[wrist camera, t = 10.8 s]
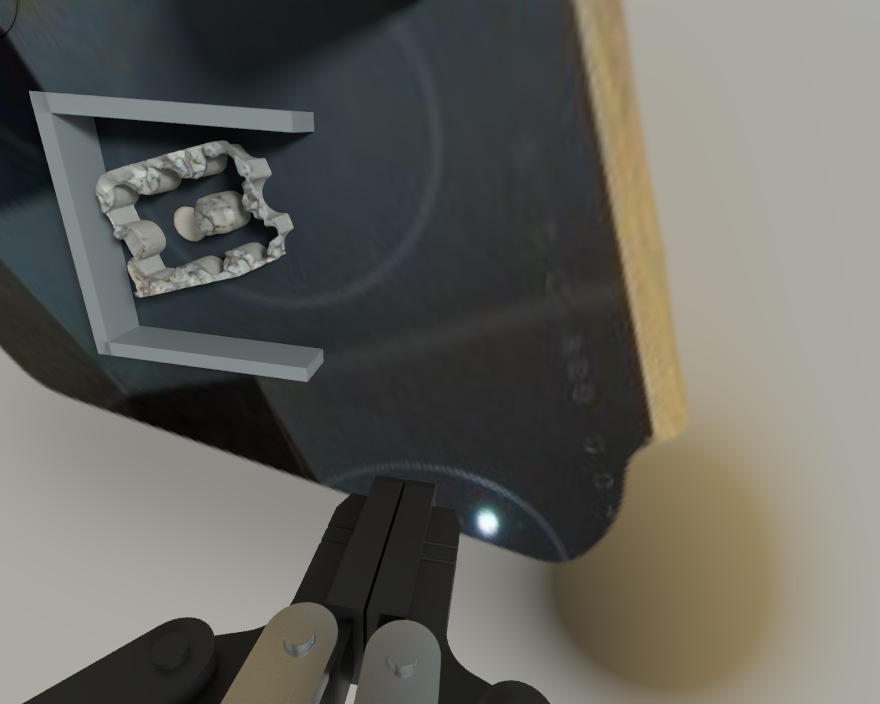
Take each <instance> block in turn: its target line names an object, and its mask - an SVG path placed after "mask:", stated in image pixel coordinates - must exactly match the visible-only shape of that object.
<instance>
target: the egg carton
mask: <svg viewBox="0 0 880 704" xmlns="http://www.w3.org/2000/svg"><path fill="white" fill-rule="evenodd" d="M227 155H229V156H231V157H232V158H233V159H234V161H235V165H236V168H237V171H238V173H239V175H240V176H242V177H244V178H246V180H245V181H244V182H243V183H242V187H243V189H244V195H243V196H242V195H241V194H239V193H238V192H235V191H225V192H220V193H216V194H210V195H207V196H205V197H203V198H200V199H198V201H197V203H196V206H195V208H192V207H181V208H179V209H178V210H177V211H176V212H175V214H174V225H175V227H176V229H177V231H178V233H179V234H181V236H183V237H184V238H185V239H187V240H190V241H199V240H201V239H202V238H204V237H205V235H207V236H210V235H213V234H224V233H228V232H230V231H233V230H236V229H238V228H240V227H243V226H245V225H246V224H248V222H249V221H250V218H251V212H252V213H253V214H254V217H255V218H256V219H263V220H264V225H265V226H267V227H270V226H274V227H275V228H277V231H278V234H279V235H278V236H277V237H276V238H274V239H273V240H272V241H271V242H270V243H269V247H268V249H267V248H266V247H264V246H263V245H261V244H259V243H248V244H245V245H243V246H240V247H238V248H235V249H233V250H230V251H227V252H225V255H226V258H225V260H224V261H223V260H221V259H220V258H218V257H215V256H206V257H203V258H201V259H198V260H196V261H193V262H191V263H188V264H186V265H184V266H178V267H177V268H176V269H174V268H166V267H165V266H164V264H163V262H162V260H161V258H160V256H159V254H160V253H161V252H162V251H163V250H164V248H165V244H166V240H165V236H164V234H163V232H162V231H161V229H160V228H159V227H158V226H157V225H156V224H155V223H153V222H151V221H148V220H140V219H139V217H138V215H137V212H136V210H135V208H134V204H135V203H136V202H137V201H138V199H139V196H140V194H145V195H151V194H157V193H161V192H166V191H171V190H174V189H176V188H177V187H178V186H179V185H180V183H181V181H182V178H193V179H198V178H200V177H204V176H210V175H215V174H219V173H221V172H222V171H223V170H224V169H225V168H226V165H227V159H228V157H227ZM270 176H271V171H270V169H269V166H268V164H267V161H266V159H265V158H255V157H252V156H250V155H249V154H248V153H246V152H245V150H244V149H243V148H242V146H241V145H240V144H229V143H228V142H227V141H215V142H210V143H205V144H202V145H199V146H195V147H191V148H187V149H184V150H180V151H177V152H173V153H169V154H164V155H161V156H158V157H156V158H152V159H148V160H145V161H142V162H139V163H135V164H130V165H127V166H124V167H121V168H118V169H115V170H112V171H109V172H107V173H105V174H103V175H101V177H100V178H99V179H98V183H97V186H96V190H95V192H96V194H97V196H98V198H99V200H100V204H101V208H102V212H103V213H106V214H107V216H108V217H109V219H110V220H111V222H112V224H113V227H114V231H113V234H114V236H115V237H116V238H117V239H119V240H121V239H124V240H125V241H126V243H127V245H128V247H129V249H130V251H131V253H132V254H133V256H134V258H131V259H130V261H129V262H128V263H127V267H128V271H129V273H130V275H131V277H132V279H133V281H134V282H135V285H136V288H137V292H134V296H135V297H145V296H151V295H156V294H160V293H166V292H170V291H174V290H178V289H182V288H186V287H191V286H195V285H201V284H206V283H210V282H213V281H218V280H224V279H228V278H233V277H237V276H240V275H242V274H245V273H247V272H249V271H251V270H254V269H256V268H258V267H260V266H262V265H264V264H266V263H268V262H270V261H273V260H276V259H278V258H280V256H281V255H283V254H286V252H285V251H283V250H285V249H284V239H285V237H286V235H287V233H289V232H290V231H291V230H292V229H293V225H292V222H291V220H290V217H289V215H288V214H287V213H278V212H275V211H273V210H272V209H270V208H269V207H268V206H267V204H266V203H265V202H264V199H263V196H262V188H263V185H264V182H265V181H266V180H267V179H268V178H269V177H270Z"/></svg>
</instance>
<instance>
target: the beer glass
mask: <svg viewBox="0 0 880 704" xmlns="http://www.w3.org/2000/svg"><path fill="white" fill-rule="evenodd" d="M16 10H17V0H0V37H1V36H2V35H4V34H5V33H6V32H7V31H8V30H9V28H10V27H11V25H12V23H13V21H14V18H15V15H16Z"/></svg>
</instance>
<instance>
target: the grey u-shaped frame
mask: <svg viewBox="0 0 880 704" xmlns="http://www.w3.org/2000/svg"><path fill="white" fill-rule="evenodd" d="M29 94H30V97H31V101H32V105H33V109H34V113H35V116H36V120H37V124H38V128H39V131H40V135H41V139H42V143H43V146H44V150H45V154H46V158H47V162H48V165H49V169H50V173H51V177H52V180H53V184H54V188H55V192H56V196H57V199H58V203H59V207H60V211H61V214H62V218H63V222H64V226H65V229H66V233H67V237H68V241H69V245H70V248H71V252H72V256H73V260H74V263H75V267H76V271H77V275H78V279H79V282H80V286H81V290H82V294H83V297H84V301H85V305H86V309H87V312H88V316H89V320H90V324H91V328H92V331H93V335H94V339H95V343H96V346H97V350H98V354H105V355H112V356H120V357H127V358H135V359H142V360H150V361H157V362H164V363H172V364H179V365H187V366H194V367H201V368H209V369H216V370H224V371H231V372H238V373H246V374H253V375H261V376H268V377H276V378H283V379H290V380H298V381H305V382H308V380H309V379H310V378H311V377H312V375H313V374H314V373H315V372H316V370H317V369H318V368H319V367H320V365H321V364H322V363H323V362H324V360H323V349H318V348H311V347H303V346H295V345H287V344H279V343H271V342H264V341H256V340H248V339H240V338H232V337H224V336H216V335H209V334H201V333H193V332H185V331H177V330H169V329H162V328H154V327H146V326H139V322H138V318H137V313H136V309H135V304H134V299H133V295H132V290H131V286H130V281H129V276H128V272H127V267H126V263H125V258H124V254H123V249H122V244H121V240H119V239H117V238H116V237H115V236H114V234H113V231H114V227H113V224H112V222H111V220H110V219H109V217H108V216H107V214H106V213H103V212H102V208H101V204H100V200H99V198H98V196H97V194H96V192H95V190H96V186H97V183H98V179H99V178H100V177H101V175H103V174H105V173H106V171H105V166H104V162H103V157H102V153H101V148H100V144H99V139H98V134H97V130H96V125H95V121H94V116H96V117H109V118H121V119H133V120H145V121H158V122H170V123H182V124H194V125H206V126H219V127H231V128H243V129H255V130H268V131H280V132H292V133H294V132H314V113H313V112H302V111H289V110H276V109H263V108H250V107H237V106H224V105H211V104H198V103H185V102H172V101H159V100H146V99H133V98H120V97H108V96H95V95H82V94H68V93H52V92H36V91H29Z"/></svg>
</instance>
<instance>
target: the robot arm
mask: <svg viewBox="0 0 880 704" xmlns="http://www.w3.org/2000/svg"><path fill="white" fill-rule="evenodd" d="M436 489H437V485H436V484H431V483H425V482H418V481H411V480H407V482H406V480H404V479H397V478H391V477H384V476H378V475H377V476H376V477H375V479H374V481H373V484H372V487H371V489H370V492H369V494H368V496H365V495H358V494H351V495H350V496H349V497H347V498H346V499H345V500H344V501H343V502H342V503H341V504H340V505H339V506H337V507H336V510H335V512H334V514H333V516H332V518H331V520H330V522H329V525H328V529H326V531H325V533H324V535H323V537H322V541H321V543H320V544H319V546H318V548H317V550H316V553H315V555H314V557H313V559H312V561H311V563H310V565H309V567H308V570H307V572H306V574H305V576H304V578H303V581H302V583H301V585H300V587H299V589H298V591H297V593H296V595H295V597H294V599H293V601H292V603H291V604H290V606H288V607H286V608H284V609H283V610H281V611H280V612H278V613H277V614H276V615H275V616H274V617H273V618H272V619H271V620H270V621H269V622H268V624H267V625H265V626H263V627H260V628H257V629H254V630H250V631H244V632H237V633H230V634H223V635H216V636H214V634H213V631H212V629H211V628H210V626H209V625H208V624H207V623H206V622H204V621H202V620H200V619H196V618H189V617H186V618H178V619H174V620H171V621H168V622H166V623H164V624H162V625H160V626H158V627H156V628H154V629H152V630H151V631H149V632H147V633H145V634H144V635H142V636H140V637H139V638H137V639H135V640H133V641H131V642H130V643H128V644H126V645H125V646H123V647H121V648H119V649H117V650H116V651H114V652H112V653H110V654H109V655H107V656H105V657H103V658H102V659H100V660H98V661H96V662H95V663H93V664H91V665H90V666H88V667H86V668H84V669H82V670H81V671H79V672H77V673H75V674H74V675H72V676H70V677H68V678H67V679H65V680H63V681H62V682H60V683H58V684H56V685H54V686H53V687H51V688H49V689H47V690H46V691H44V692H42V693H40V694H39V695H37V696H35V697H33V698H32V699H30V700H28V701H26V702H24V703H23V704H345V700H346V697H347V694H348V690H349V687H350V684H356V685H358V686H357V691H356V696H355V700H354V704H550V703H549V702H548V700H547V699H546V698H545V697H544V696H543V695H542V694H541V693H540V692H539V691H537V690H536V689H535V688H533V687H532V686H529V685H528V684H525V683H523V682H520V681H513V680H510V681H502V682H498V683H496V684H494V685H491V684H489V683H487V682H486V681H484V680H482V679H481V678H479V677H477V676H475V675H474V674H472V673H471V672H469V671H468V670H466V669H465V668H464V667H463V666H462V665H461V664H460V663H459V662H458V661H457V660H456V658H455V657H454V655H453V654H452V652H451V650H450V647H449V645H448V641H447V627H448V620H449V613H450V606H451V599H452V591H453V584H454V577H455V569H456V561H457V552H458V544H459V535H460V524H459V522H458V519H457V516H456V513H455V510H454V509H448V508H442V507H436V506H435V501H436Z"/></svg>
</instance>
